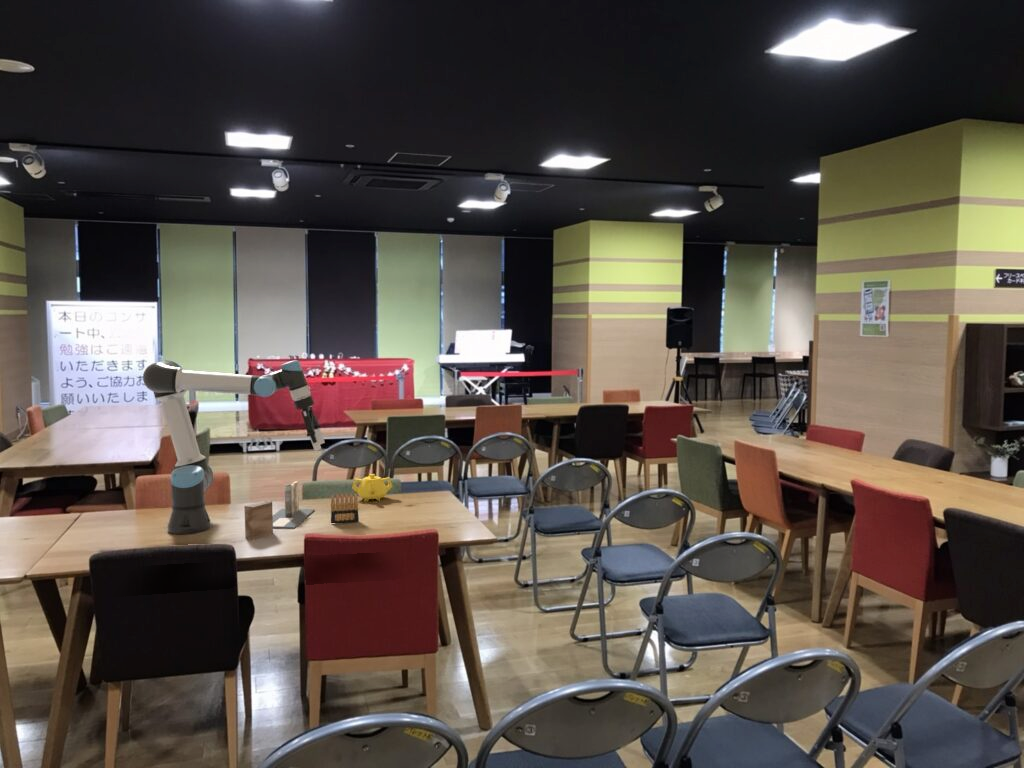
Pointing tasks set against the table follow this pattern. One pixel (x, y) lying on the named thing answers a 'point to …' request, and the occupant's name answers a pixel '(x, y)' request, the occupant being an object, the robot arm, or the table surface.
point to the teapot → (372, 487)
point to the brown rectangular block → (258, 519)
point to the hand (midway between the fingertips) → (320, 446)
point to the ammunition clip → (344, 509)
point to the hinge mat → (290, 518)
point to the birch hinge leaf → (291, 499)
